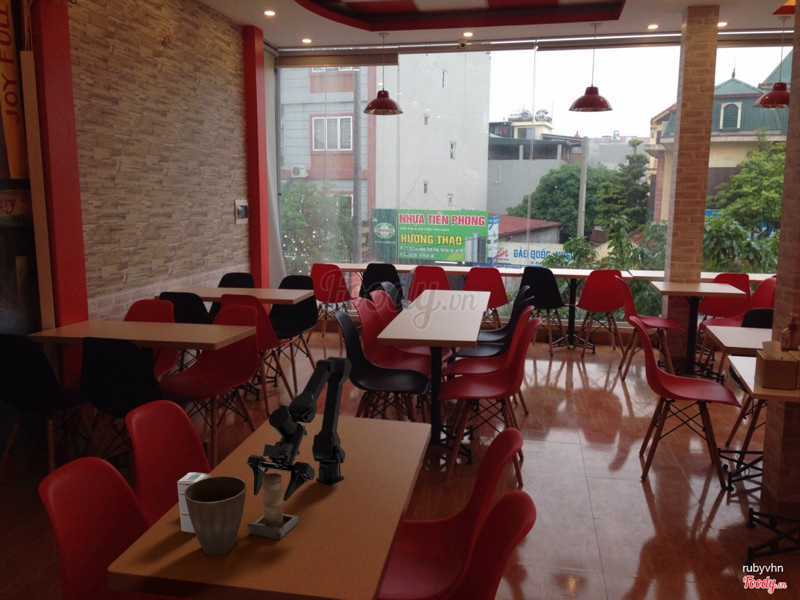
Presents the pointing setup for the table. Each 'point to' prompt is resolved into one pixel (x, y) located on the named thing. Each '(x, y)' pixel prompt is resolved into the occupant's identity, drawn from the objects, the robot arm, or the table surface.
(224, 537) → the plant pot
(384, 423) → the table surface
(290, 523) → the grey tray
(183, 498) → the syrup box
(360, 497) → the table surface
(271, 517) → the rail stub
